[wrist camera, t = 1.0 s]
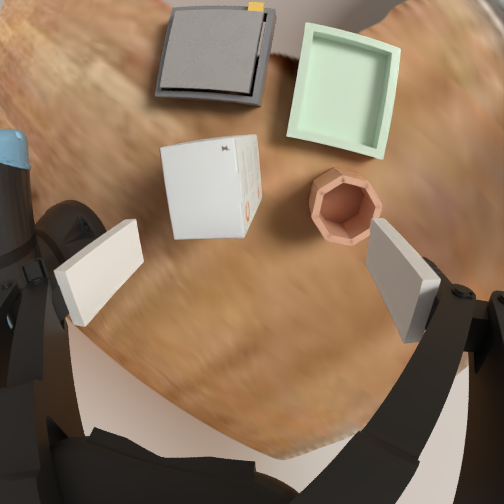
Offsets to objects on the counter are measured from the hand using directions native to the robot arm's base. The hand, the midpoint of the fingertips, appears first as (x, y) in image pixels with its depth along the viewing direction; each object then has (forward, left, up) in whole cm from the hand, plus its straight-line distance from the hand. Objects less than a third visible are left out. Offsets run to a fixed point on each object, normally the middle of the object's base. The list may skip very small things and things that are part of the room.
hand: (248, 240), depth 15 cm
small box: (-5, 0, -20) cm, 21 cm away
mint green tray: (+6, +12, -20) cm, 24 cm away
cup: (+8, -1, -20) cm, 21 cm away
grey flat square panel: (-9, +14, -17) cm, 24 cm away
